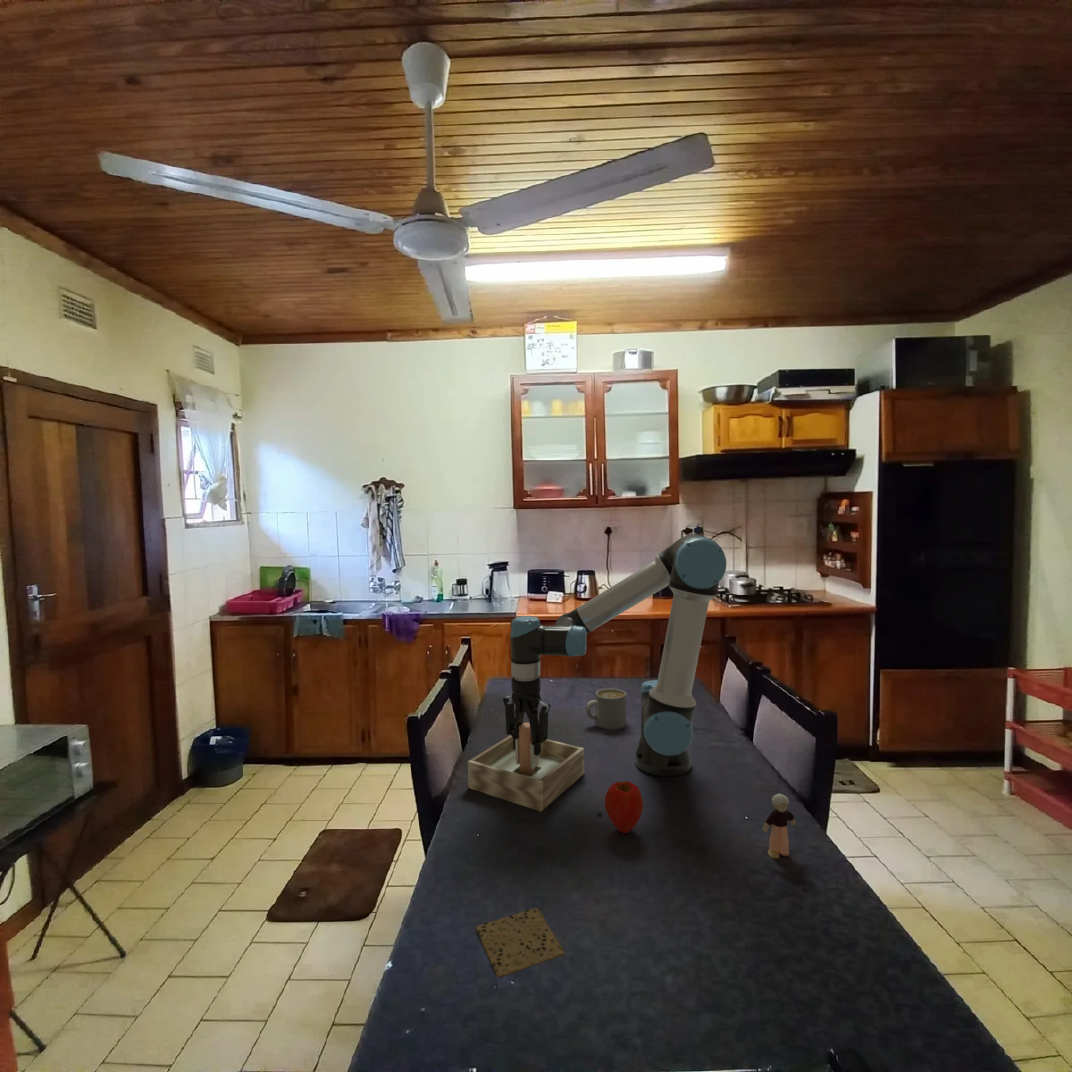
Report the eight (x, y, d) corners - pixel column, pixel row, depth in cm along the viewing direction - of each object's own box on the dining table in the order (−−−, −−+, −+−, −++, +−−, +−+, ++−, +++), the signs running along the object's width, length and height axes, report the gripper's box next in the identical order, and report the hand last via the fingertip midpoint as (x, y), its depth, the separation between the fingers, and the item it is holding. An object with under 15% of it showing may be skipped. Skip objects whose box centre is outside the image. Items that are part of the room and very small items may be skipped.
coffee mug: (622, 716, 197) (622, 687, 196) (629, 728, 187) (629, 697, 186) (582, 718, 196) (582, 689, 195) (588, 730, 186) (587, 699, 185)
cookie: (497, 982, 91) (497, 976, 91) (474, 929, 102) (474, 924, 102) (566, 957, 96) (566, 951, 96) (537, 909, 107) (537, 904, 107)
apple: (620, 815, 137) (620, 770, 136) (651, 830, 131) (651, 783, 130) (597, 830, 131) (596, 783, 130) (628, 846, 125) (628, 797, 124)
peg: (537, 776, 155) (537, 724, 154) (529, 782, 151) (528, 729, 150) (525, 772, 157) (524, 721, 156) (516, 778, 153) (515, 726, 152)
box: (584, 773, 157) (584, 748, 157) (541, 811, 139) (540, 783, 138) (516, 755, 169) (516, 731, 169) (468, 787, 151) (467, 761, 150)
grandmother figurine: (774, 863, 118) (775, 803, 117) (759, 853, 122) (760, 794, 121) (800, 852, 122) (801, 793, 121) (785, 842, 125) (786, 785, 124)
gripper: (561, 677, 151) (562, 766, 152) (507, 668, 160) (508, 751, 161) (546, 686, 144) (547, 778, 146) (490, 675, 153) (492, 762, 155)
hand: (527, 763), depth 154 cm, fingers closed on peg, 4 cm apart
